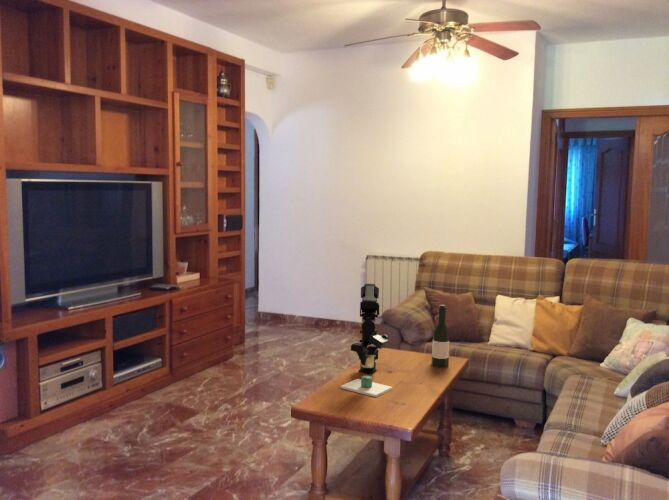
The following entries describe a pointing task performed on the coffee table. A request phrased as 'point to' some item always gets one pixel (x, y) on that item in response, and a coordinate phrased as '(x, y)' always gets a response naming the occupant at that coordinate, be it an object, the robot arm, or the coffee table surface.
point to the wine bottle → (441, 341)
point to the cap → (369, 361)
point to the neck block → (366, 386)
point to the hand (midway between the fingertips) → (367, 363)
